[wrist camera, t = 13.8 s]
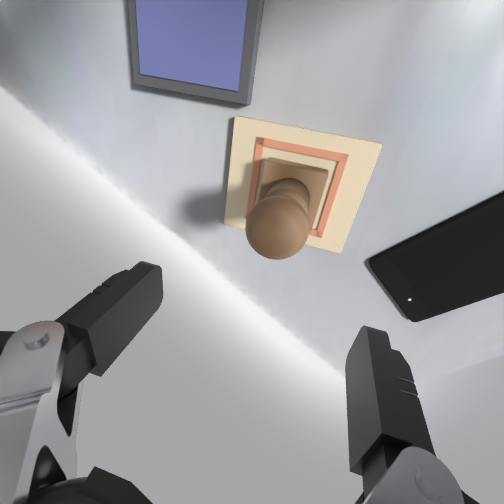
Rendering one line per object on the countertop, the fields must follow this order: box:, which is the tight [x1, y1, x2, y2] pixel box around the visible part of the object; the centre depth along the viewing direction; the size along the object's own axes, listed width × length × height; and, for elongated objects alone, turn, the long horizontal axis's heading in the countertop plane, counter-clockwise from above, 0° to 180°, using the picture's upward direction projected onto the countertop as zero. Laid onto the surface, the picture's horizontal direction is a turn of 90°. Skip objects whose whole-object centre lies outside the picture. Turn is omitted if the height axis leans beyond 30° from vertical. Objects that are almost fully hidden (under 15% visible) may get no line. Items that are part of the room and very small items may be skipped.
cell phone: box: [369, 192, 504, 322], centre depth 23 cm, size 9×18×1 cm, turn 131°
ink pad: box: [128, 0, 264, 105], centre depth 20 cm, size 10×8×1 cm
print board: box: [224, 116, 383, 253], centre depth 24 cm, size 12×10×1 cm
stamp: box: [245, 157, 329, 260], centre depth 19 cm, size 5×5×10 cm
